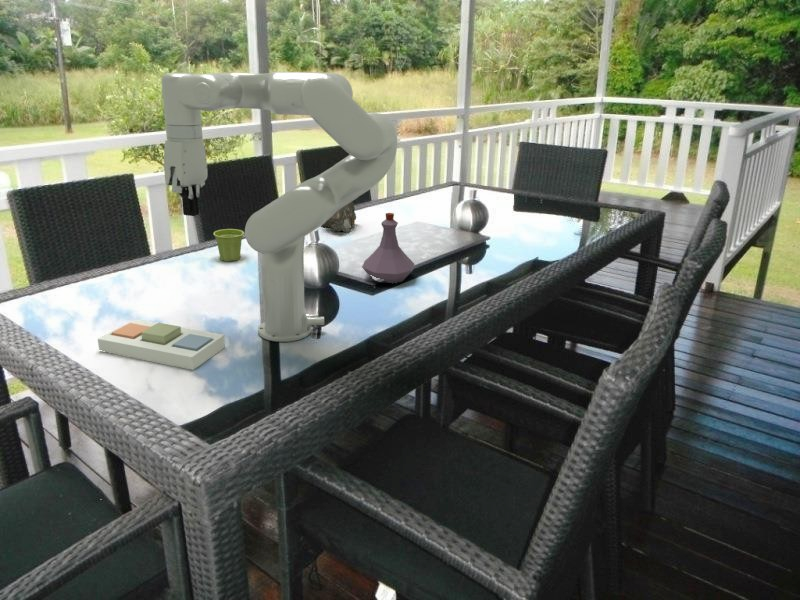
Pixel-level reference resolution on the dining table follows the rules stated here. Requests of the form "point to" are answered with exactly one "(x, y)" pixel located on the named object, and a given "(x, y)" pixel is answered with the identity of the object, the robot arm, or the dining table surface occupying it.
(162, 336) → the olive key
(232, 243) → the plant pot
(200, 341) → the slate blue key
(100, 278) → the dining table surface
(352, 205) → the rock
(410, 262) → the flask
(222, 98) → the robot arm
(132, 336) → the terracotta key
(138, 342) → the keypad
